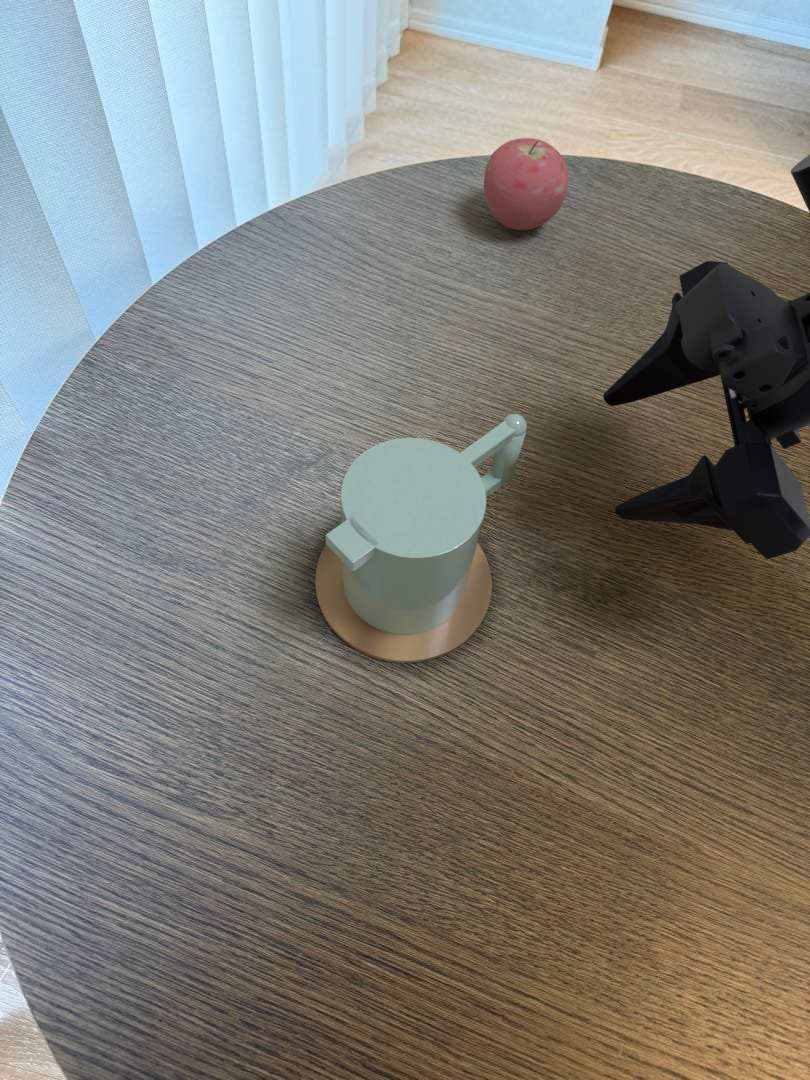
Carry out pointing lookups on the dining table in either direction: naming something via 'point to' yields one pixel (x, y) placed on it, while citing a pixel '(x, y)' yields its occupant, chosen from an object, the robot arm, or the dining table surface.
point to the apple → (525, 183)
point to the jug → (417, 525)
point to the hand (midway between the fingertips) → (611, 454)
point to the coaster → (396, 644)
